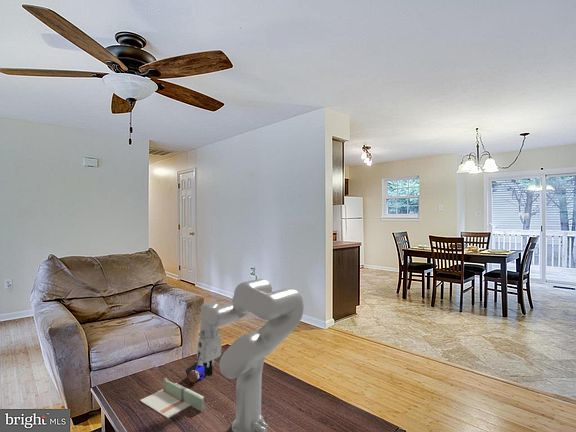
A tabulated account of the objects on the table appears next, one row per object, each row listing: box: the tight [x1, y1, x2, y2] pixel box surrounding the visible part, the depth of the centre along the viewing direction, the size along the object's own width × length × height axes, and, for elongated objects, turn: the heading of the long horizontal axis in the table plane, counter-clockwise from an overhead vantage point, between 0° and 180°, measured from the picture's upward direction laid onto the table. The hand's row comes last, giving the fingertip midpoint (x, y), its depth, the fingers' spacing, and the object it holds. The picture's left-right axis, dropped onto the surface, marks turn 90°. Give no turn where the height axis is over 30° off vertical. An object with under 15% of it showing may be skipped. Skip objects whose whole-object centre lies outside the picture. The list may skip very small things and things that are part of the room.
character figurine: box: [185, 361, 206, 385], centre depth 160 cm, size 8×7×15 cm
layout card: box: [139, 382, 205, 419], centre depth 142 cm, size 20×18×1 cm
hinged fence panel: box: [182, 388, 205, 411], centre depth 137 cm, size 13×2×4 cm, turn 54°
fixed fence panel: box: [162, 377, 183, 400], centre depth 145 cm, size 13×2×5 cm, turn 54°
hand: (208, 374), depth 139 cm, fingers closed
